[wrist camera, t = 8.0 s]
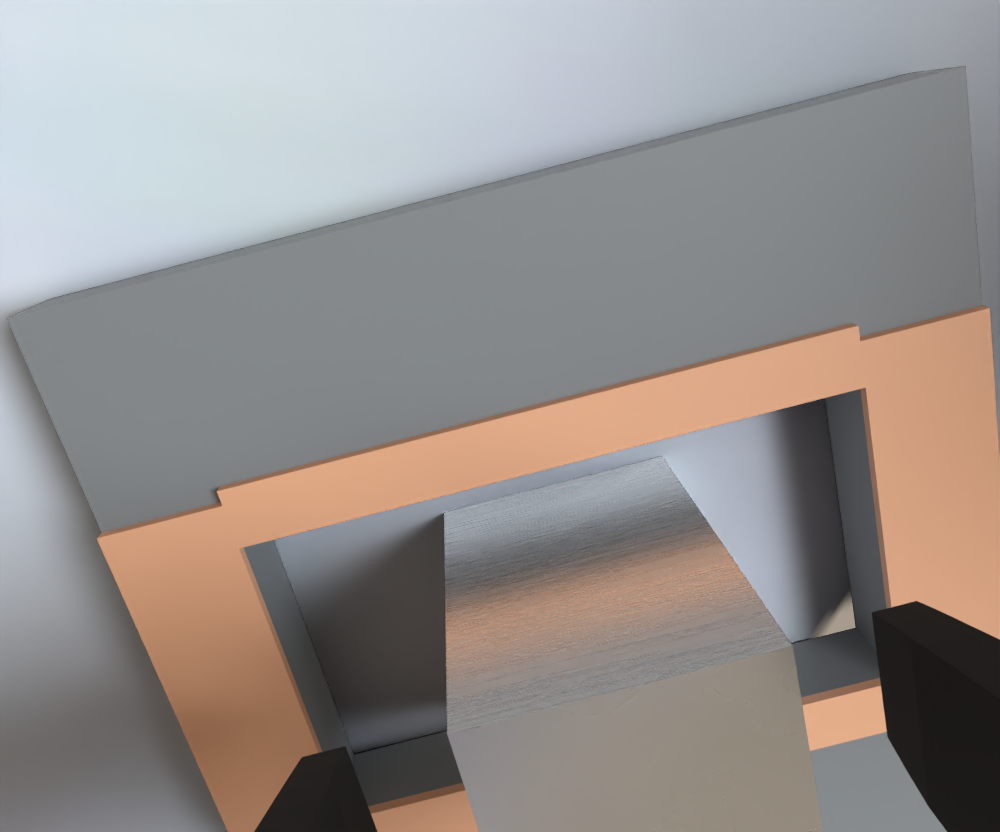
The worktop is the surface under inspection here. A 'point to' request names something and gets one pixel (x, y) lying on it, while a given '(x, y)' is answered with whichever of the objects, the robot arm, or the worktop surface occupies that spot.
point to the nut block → (617, 667)
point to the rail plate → (545, 406)
